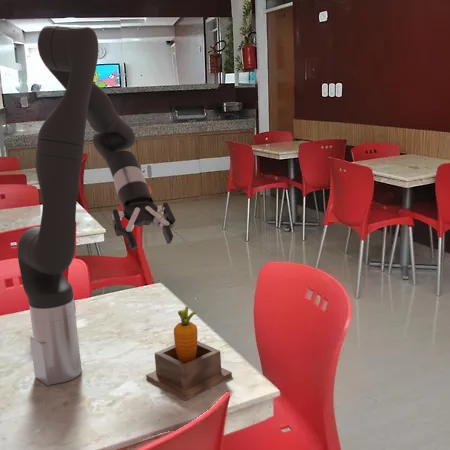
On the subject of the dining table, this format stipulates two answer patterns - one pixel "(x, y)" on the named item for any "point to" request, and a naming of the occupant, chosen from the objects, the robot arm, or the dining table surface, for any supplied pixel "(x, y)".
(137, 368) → the dining table surface
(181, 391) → the socket block
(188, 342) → the carrot
